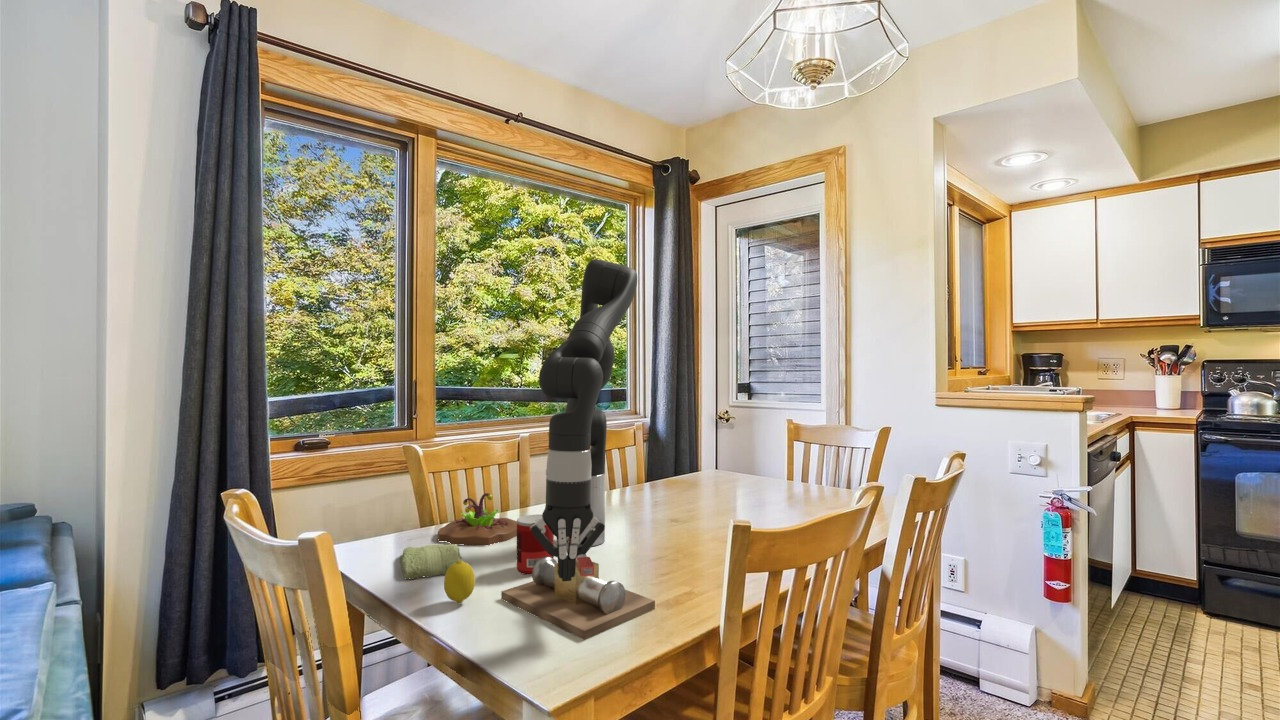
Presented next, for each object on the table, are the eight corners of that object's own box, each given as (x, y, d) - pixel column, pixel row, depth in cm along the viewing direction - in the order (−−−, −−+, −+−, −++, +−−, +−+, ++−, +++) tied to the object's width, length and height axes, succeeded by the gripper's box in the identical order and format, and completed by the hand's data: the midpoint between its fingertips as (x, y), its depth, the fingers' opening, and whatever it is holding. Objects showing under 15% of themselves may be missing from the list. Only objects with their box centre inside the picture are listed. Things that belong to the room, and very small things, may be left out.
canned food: (560, 568, 129) (560, 518, 129) (530, 578, 123) (531, 525, 123) (539, 560, 134) (539, 512, 135) (509, 569, 129) (509, 518, 129)
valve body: (531, 588, 115) (532, 544, 115) (554, 581, 119) (554, 538, 119) (602, 620, 101) (602, 569, 101) (625, 610, 105) (625, 561, 105)
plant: (495, 550, 143) (496, 503, 143) (425, 543, 148) (425, 498, 148) (531, 528, 162) (531, 487, 162) (467, 523, 167) (468, 483, 167)
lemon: (457, 612, 106) (458, 567, 106) (437, 605, 109) (437, 562, 109) (481, 601, 111) (481, 559, 111) (460, 595, 114) (461, 553, 114)
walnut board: (501, 599, 112) (501, 591, 112) (570, 576, 125) (570, 569, 125) (584, 640, 96) (584, 630, 96) (654, 608, 108) (654, 600, 108)
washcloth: (458, 551, 142) (458, 537, 142) (466, 575, 126) (466, 560, 126) (400, 557, 138) (400, 544, 138) (399, 584, 121) (399, 568, 121)
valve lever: (568, 549, 111) (568, 541, 111) (583, 548, 112) (583, 540, 112) (579, 576, 97) (579, 567, 97) (595, 575, 98) (596, 566, 98)
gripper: (530, 481, 94) (527, 590, 94) (612, 479, 97) (609, 584, 97) (527, 472, 101) (524, 574, 101) (603, 471, 104) (600, 569, 104)
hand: (566, 579), depth 99 cm, fingers closed
